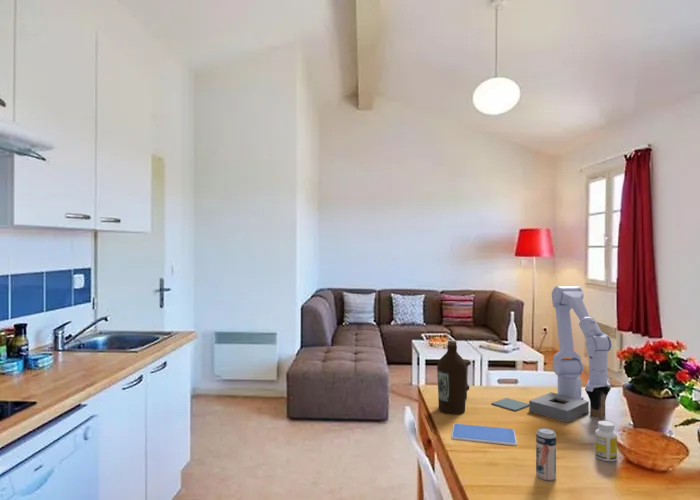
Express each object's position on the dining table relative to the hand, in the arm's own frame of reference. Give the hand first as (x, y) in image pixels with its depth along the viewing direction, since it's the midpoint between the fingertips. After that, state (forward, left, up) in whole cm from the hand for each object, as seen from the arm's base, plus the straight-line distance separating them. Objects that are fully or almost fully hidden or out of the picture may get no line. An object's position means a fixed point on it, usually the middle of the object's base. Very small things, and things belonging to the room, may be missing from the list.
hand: (597, 407), depth 168 cm
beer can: (+57, +11, -3) cm, 58 cm away
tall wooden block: (0, 0, -3) cm, 3 cm away
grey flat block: (+6, -11, -3) cm, 13 cm away
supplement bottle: (+33, +16, -3) cm, 37 cm away
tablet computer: (+45, -16, -4) cm, 48 cm away
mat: (+13, -26, -3) cm, 29 cm away
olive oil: (+35, -37, -3) cm, 51 cm away
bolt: (+21, -42, -3) cm, 47 cm away
